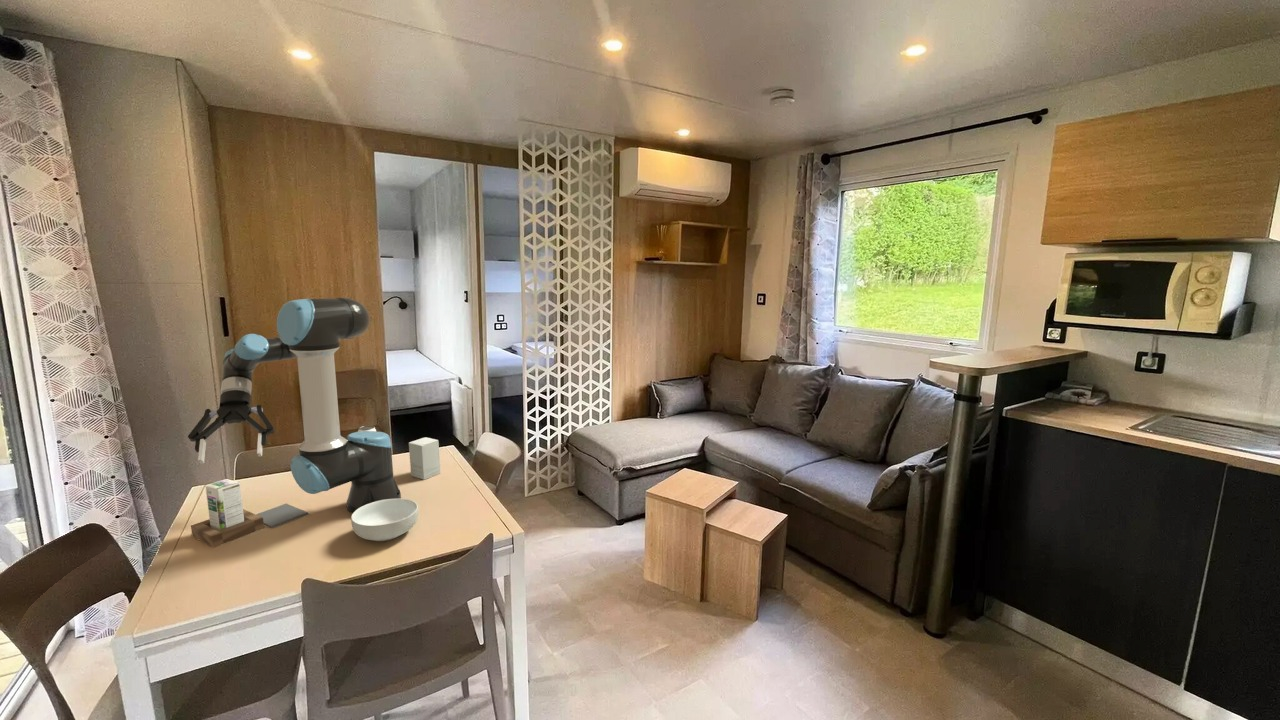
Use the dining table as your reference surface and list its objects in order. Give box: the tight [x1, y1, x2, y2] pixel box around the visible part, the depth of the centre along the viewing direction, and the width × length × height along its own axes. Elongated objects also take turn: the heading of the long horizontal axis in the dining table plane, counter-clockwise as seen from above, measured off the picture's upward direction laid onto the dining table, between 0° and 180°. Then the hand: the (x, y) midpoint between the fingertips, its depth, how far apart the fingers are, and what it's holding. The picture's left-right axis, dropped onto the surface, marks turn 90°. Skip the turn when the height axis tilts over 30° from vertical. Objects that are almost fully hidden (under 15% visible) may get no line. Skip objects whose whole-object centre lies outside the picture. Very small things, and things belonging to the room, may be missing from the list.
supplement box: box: [408, 437, 441, 480], centre depth 184 cm, size 7×7×13 cm
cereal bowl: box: [350, 498, 419, 542], centre depth 143 cm, size 17×17×7 cm
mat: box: [255, 503, 309, 529], centre depth 153 cm, size 12×10×1 cm
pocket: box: [190, 508, 265, 549], centre depth 143 cm, size 12×12×3 cm
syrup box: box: [205, 478, 244, 531], centre depth 142 cm, size 6×6×14 cm
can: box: [357, 425, 377, 432], centre depth 201 cm, size 6×6×12 cm
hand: (230, 458), depth 149 cm, fingers open, 13 cm apart
